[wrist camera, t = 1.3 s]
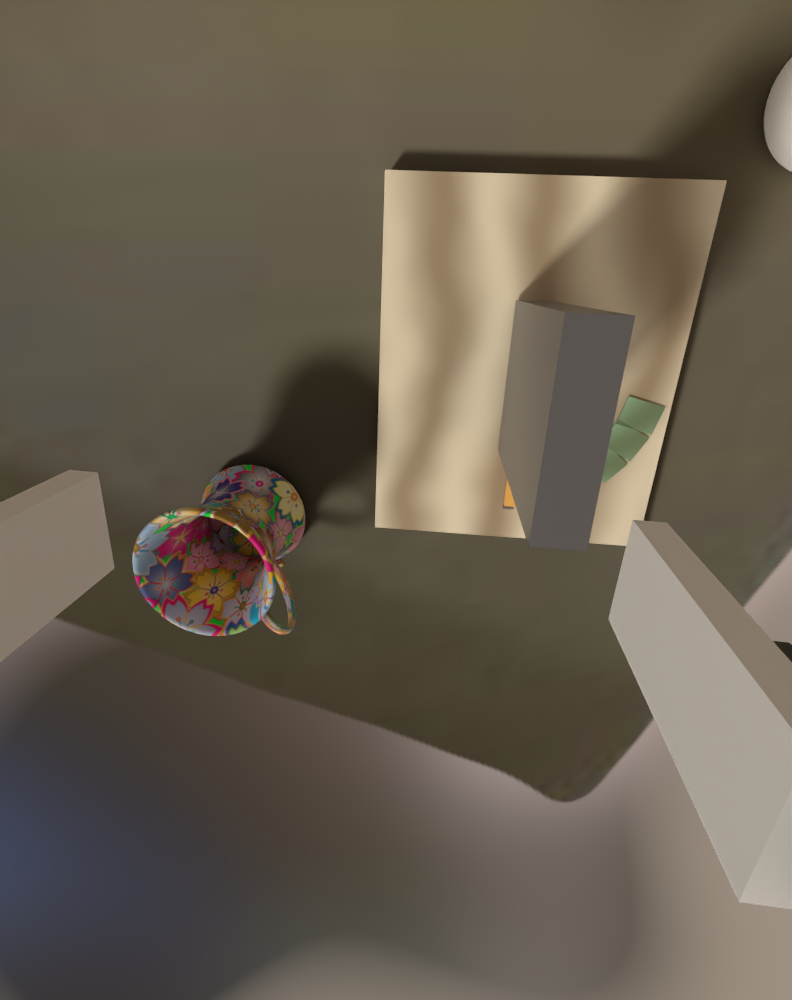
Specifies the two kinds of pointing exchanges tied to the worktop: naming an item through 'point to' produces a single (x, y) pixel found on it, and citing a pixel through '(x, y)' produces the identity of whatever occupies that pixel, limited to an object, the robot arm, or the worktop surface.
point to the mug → (223, 554)
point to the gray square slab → (560, 416)
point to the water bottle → (780, 118)
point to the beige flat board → (489, 321)
